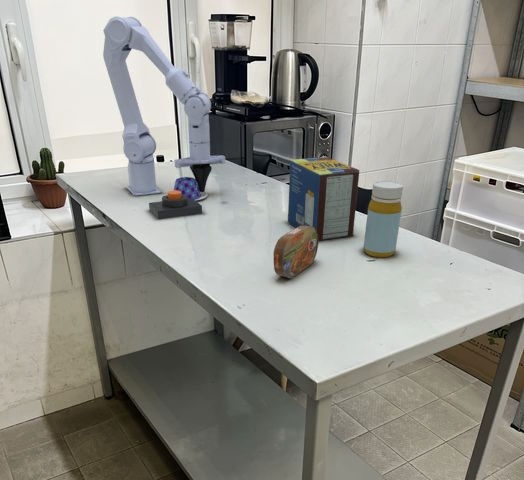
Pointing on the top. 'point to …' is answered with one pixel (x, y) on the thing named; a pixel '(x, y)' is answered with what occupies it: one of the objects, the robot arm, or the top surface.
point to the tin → (295, 251)
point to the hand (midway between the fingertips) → (201, 191)
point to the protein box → (323, 196)
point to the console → (175, 207)
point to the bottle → (383, 219)
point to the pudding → (189, 188)
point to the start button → (174, 195)
